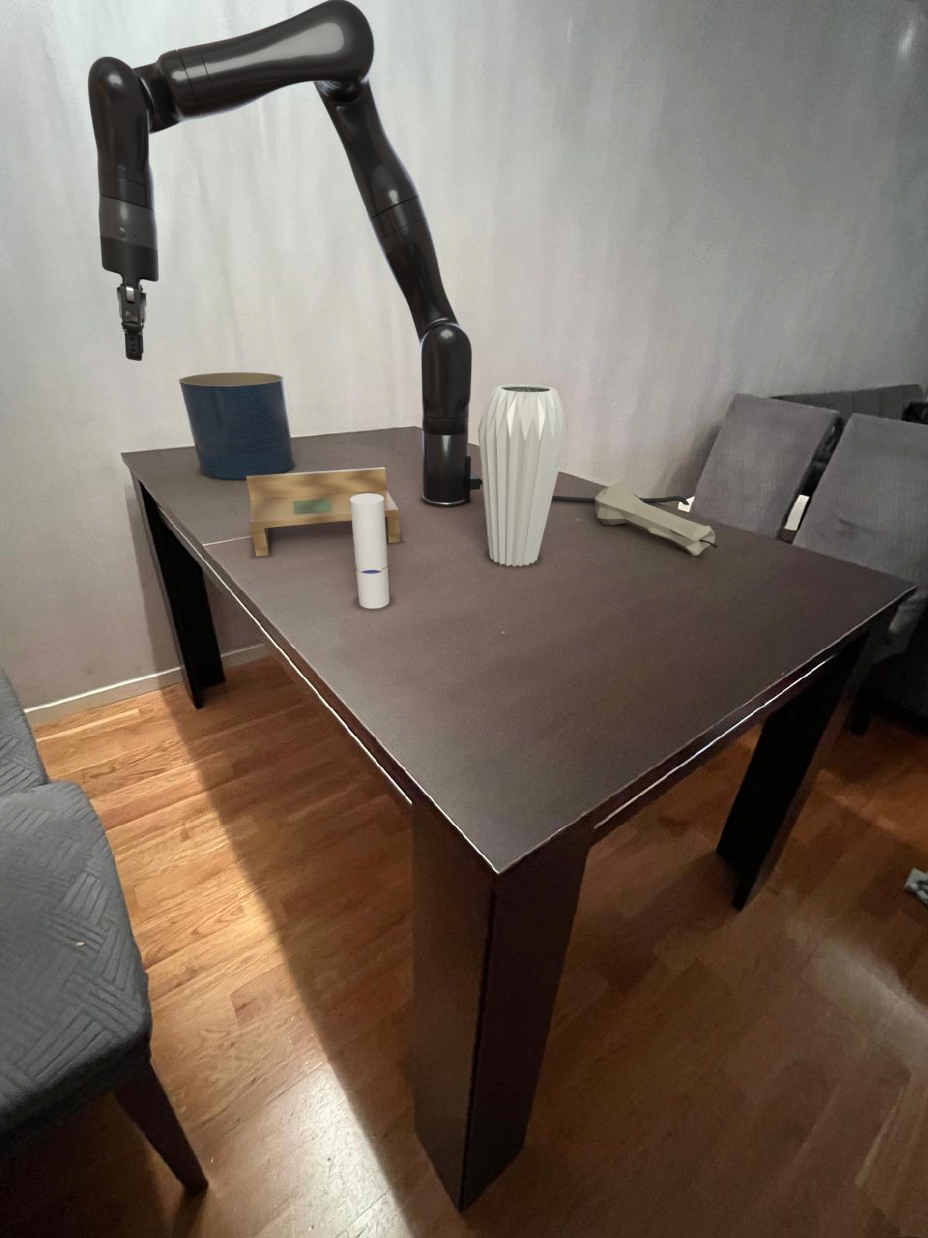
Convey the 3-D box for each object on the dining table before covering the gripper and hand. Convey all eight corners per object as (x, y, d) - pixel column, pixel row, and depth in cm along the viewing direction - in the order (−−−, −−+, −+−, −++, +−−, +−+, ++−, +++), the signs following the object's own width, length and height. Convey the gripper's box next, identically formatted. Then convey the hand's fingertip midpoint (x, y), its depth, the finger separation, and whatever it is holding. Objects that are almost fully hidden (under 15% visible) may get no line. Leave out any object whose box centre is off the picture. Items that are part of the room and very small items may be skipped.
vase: (487, 578, 85) (496, 396, 71) (464, 544, 96) (468, 382, 82) (566, 569, 88) (589, 394, 74) (535, 538, 99) (550, 380, 85)
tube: (375, 591, 80) (368, 491, 72) (395, 600, 78) (390, 498, 70) (352, 601, 77) (342, 498, 70) (373, 611, 75) (365, 506, 67)
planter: (195, 461, 138) (175, 374, 127) (285, 452, 147) (273, 370, 136) (204, 485, 121) (182, 387, 110) (304, 474, 130) (292, 382, 119)
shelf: (387, 518, 106) (384, 466, 101) (400, 542, 96) (397, 486, 91) (256, 530, 99) (246, 475, 94) (256, 556, 89) (244, 497, 84)
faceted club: (611, 508, 111) (727, 553, 95) (583, 527, 107) (699, 578, 92) (612, 468, 105) (736, 510, 89) (583, 488, 102) (706, 535, 86)
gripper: (157, 246, 79) (161, 367, 86) (158, 248, 90) (161, 355, 97) (95, 230, 75) (104, 357, 83) (103, 234, 86) (111, 346, 93)
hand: (135, 356), depth 90 cm, fingers open, 8 cm apart
